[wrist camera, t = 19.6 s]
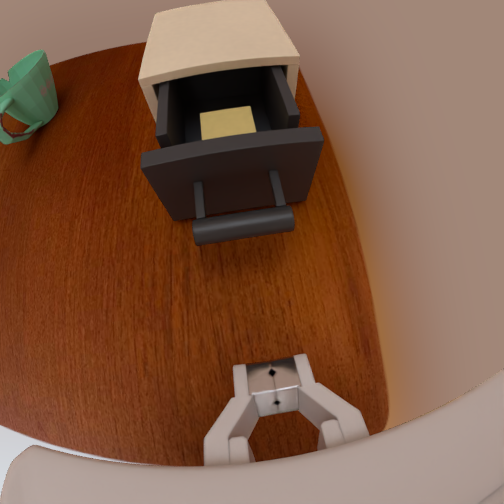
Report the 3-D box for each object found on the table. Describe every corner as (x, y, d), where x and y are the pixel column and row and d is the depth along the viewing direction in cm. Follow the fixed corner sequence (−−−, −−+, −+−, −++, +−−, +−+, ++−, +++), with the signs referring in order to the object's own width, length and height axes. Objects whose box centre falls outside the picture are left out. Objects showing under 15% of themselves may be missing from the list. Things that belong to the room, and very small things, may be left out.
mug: (33, 106, 32) (6, 68, 22) (78, 85, 32) (53, 40, 22) (7, 176, 27) (-34, 138, 18) (54, 154, 27) (12, 105, 18)
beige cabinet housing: (290, 134, 27) (300, 55, 17) (168, 152, 26) (137, 79, 17) (263, 58, 31) (263, -3, 22) (171, 72, 31) (155, 13, 22)
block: (258, 172, 23) (258, 142, 19) (210, 179, 23) (202, 150, 19) (251, 137, 24) (250, 105, 20) (207, 143, 24) (199, 113, 20)
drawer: (318, 249, 22) (346, 202, 14) (177, 271, 22) (138, 234, 14) (273, 94, 27) (276, 35, 20) (172, 110, 27) (154, 53, 20)
